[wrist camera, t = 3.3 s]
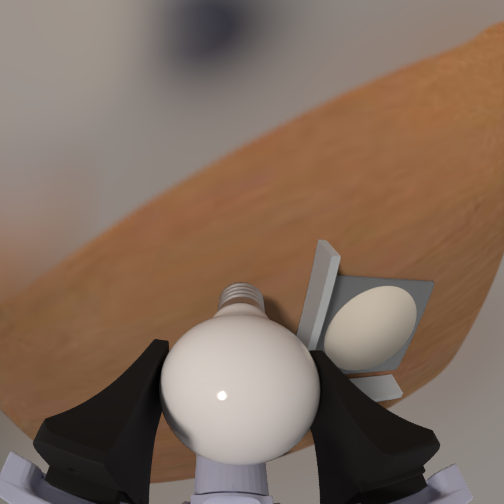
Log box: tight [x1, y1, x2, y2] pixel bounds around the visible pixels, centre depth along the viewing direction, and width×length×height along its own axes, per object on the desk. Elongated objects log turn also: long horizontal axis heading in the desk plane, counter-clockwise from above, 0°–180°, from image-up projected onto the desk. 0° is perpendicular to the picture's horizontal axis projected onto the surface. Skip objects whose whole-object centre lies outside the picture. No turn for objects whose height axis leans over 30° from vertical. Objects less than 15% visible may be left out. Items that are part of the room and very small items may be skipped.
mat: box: [315, 275, 435, 374], centre depth 22 cm, size 10×10×1 cm
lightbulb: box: [159, 282, 320, 466], centre depth 12 cm, size 6×6×11 cm
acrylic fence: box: [297, 240, 403, 402], centre depth 21 cm, size 15×12×3 cm
